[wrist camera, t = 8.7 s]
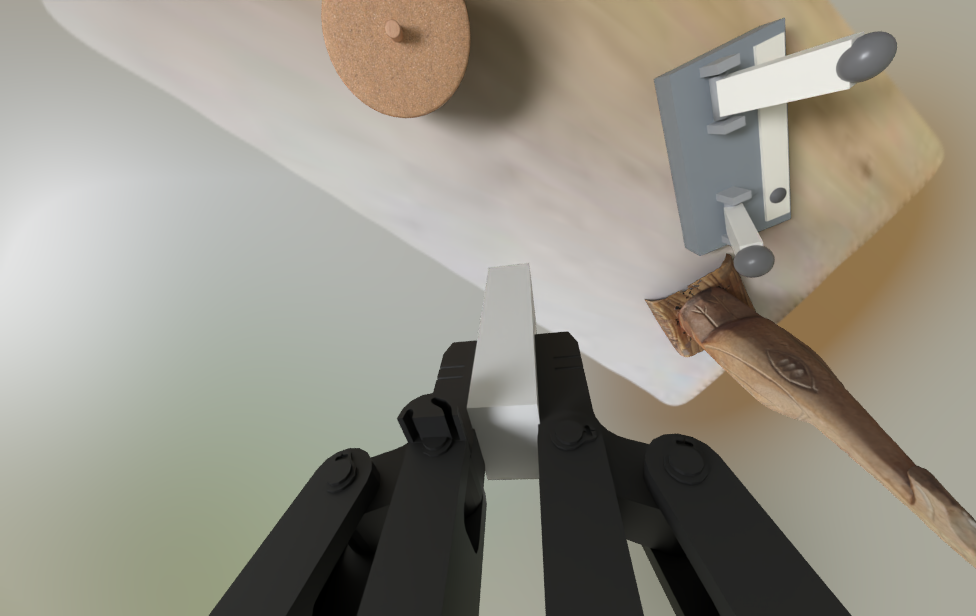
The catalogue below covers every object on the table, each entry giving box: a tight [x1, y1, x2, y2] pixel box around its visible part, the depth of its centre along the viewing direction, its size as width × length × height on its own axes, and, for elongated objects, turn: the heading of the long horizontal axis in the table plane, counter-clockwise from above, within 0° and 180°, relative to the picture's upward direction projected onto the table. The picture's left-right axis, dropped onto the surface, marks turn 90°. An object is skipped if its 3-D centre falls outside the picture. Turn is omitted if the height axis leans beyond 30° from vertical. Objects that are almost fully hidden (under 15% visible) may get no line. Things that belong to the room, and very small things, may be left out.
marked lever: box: [709, 31, 897, 121], centre depth 27 cm, size 3×4×12 cm
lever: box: [724, 203, 775, 278], centre depth 33 cm, size 3×4×12 cm
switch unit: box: [654, 18, 791, 256], centre depth 35 cm, size 10×19×6 cm, turn 25°
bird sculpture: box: [645, 253, 976, 568], centre depth 32 cm, size 11×12×32 cm
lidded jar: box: [321, 0, 471, 118], centre depth 28 cm, size 11×11×9 cm
